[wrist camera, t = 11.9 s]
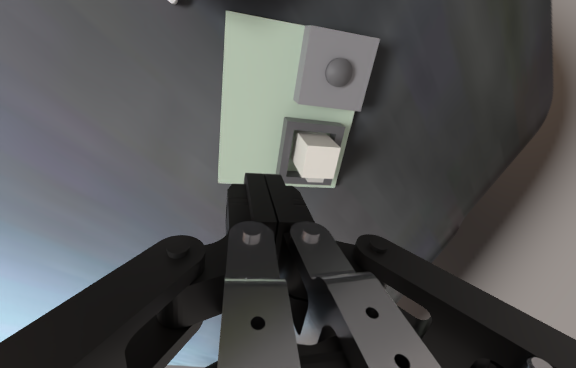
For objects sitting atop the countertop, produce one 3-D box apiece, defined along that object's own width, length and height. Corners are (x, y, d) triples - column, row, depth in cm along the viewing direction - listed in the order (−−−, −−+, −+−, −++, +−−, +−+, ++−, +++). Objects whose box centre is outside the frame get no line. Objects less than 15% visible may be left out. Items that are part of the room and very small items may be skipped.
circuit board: (225, 11, 29) (226, 8, 26) (369, 39, 34) (386, 39, 30) (217, 179, 38) (217, 194, 35) (332, 184, 42) (342, 198, 39)
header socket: (284, 116, 35) (287, 121, 33) (339, 122, 37) (345, 127, 35) (275, 176, 39) (277, 183, 37) (326, 179, 41) (330, 185, 39)
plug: (295, 129, 36) (307, 145, 31) (324, 131, 37) (340, 147, 32) (290, 163, 38) (300, 183, 33) (317, 164, 39) (331, 184, 34)
